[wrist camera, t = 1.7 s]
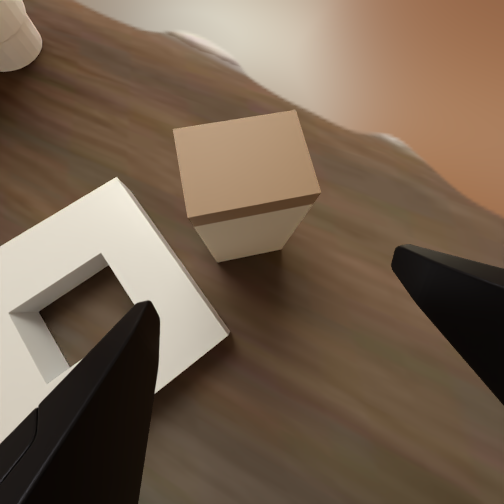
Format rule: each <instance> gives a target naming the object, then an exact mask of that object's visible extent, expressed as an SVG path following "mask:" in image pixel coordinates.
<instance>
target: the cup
mask: <svg viewBox="0 0 504 504" xmlns="http://www.w3.org/2000/svg"><path fill="white" fill-rule="evenodd" d="M41 49H42V38H41V35H40V34H39V32H38V31H37V29H36V28H35V26H34V24H33V23H32V21H31V20H30V18H29V17H28V15H27V14H26V9H25V6H24V3H23V1H22V0H0V72H7V71H14V70H17V69H21V68H23V67H25V66H27V65H29V64H30V63H31V62H32V61H34V60H35V59H36V57H37V56H38V55H39V54H40V51H41Z"/></svg>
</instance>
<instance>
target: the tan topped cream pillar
mask: <svg viewBox="0 0 504 504" xmlns="http://www.w3.org/2000/svg"><path fill="white" fill-rule="evenodd" d="M173 133H174V139H175V145H176V151H177V157H178V163H179V169H180V175H181V181H182V187H183V193H184V199H185V205H186V211H187V217H188V219H189V220H190V222H191V223H192V225H193V227H194V228H195V230H196V231H197V233H198V234H199V236H200V237H201V239H202V240H203V242H204V243H205V245H206V246H207V248H208V249H209V251H210V252H211V254H212V255H213V257H214V258H215V260H216V261H217V263H218V262H223V261H227V260H232V259H237V258H242V257H247V256H252V255H256V254H261V253H266V252H271V251H276V250H281V249H282V248H283V247H284V245H285V244H286V242H287V241H288V239H289V238H290V236H291V235H292V234H293V232H294V231H295V229H296V228H297V226H298V225H299V224H300V222H301V221H302V219H303V218H304V216H305V215H306V213H307V212H308V211H309V209H310V208H311V206H312V205H313V203H314V202H315V201H316V199H317V198H318V196H319V195H320V193H321V191H320V187H319V184H318V181H317V178H316V174H315V171H314V168H313V165H312V161H311V158H310V155H309V152H308V148H307V145H306V142H305V139H304V135H303V132H302V129H301V126H300V122H299V119H298V116H297V113H296V110H292V111H286V112H279V113H273V114H267V115H260V116H254V117H248V118H241V119H235V120H229V121H222V122H216V123H209V124H203V125H197V126H190V127H184V128H178V129H173Z"/></svg>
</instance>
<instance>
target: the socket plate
mask: <svg viewBox="0 0 504 504" xmlns="http://www.w3.org/2000/svg"><path fill="white" fill-rule="evenodd" d="M108 265H109V266H110V267H111V269H112V270H113V272H114V274H115V275H116V277H117V278H118V280H119V281H120V283H121V284H122V286H123V288H124V289H125V291H126V292H127V294H128V295H129V297H130V298H131V300H132V301H133V303H134V305H135V304H136V303H138V302H142V301H146V300H150V301H151V302H152V303H153V305H154V307H155V309H156V311H157V313H158V315H159V317H160V347H159V366H158V374H157V381H156V388H155V393H156V392H158V391H159V390H160V389H161V388H163V387H164V386H165V385H166V384H168V383H169V382H170V381H171V380H173V379H174V378H175V377H176V376H178V375H179V374H180V373H182V372H183V371H184V370H185V369H187V368H188V367H189V366H190V365H192V364H193V363H194V362H195V361H197V360H198V359H199V358H200V357H202V356H203V355H204V354H205V353H207V352H208V351H209V350H210V349H212V348H213V347H214V346H216V345H217V344H218V343H219V342H221V341H222V340H223V339H224V338H226V337H227V336H228V335H229V333H230V330H229V329H228V327H227V326H226V325H225V323H224V322H223V320H222V319H221V318H220V316H219V315H218V313H217V312H216V311H215V309H214V308H213V306H212V305H211V304H210V302H209V301H208V299H207V298H206V296H205V295H204V294H203V292H202V291H201V289H200V288H199V287H198V285H197V284H196V282H195V281H194V280H193V278H192V277H191V275H190V274H189V272H188V271H187V270H186V268H185V267H184V265H183V264H182V263H181V261H180V260H179V258H178V257H177V256H176V254H175V253H174V251H173V250H172V248H171V247H170V246H169V244H168V243H167V241H166V240H165V239H164V237H163V236H162V234H161V233H160V232H159V230H158V229H157V227H156V226H155V224H154V223H153V222H152V220H151V219H150V217H149V216H148V215H147V213H146V212H145V210H144V209H143V208H142V206H141V205H140V203H139V202H138V200H137V199H136V198H135V196H134V195H133V193H132V192H131V191H130V190H129V189H128V188H127V187H126V186H125V185H124V184H123V183H122V182H121V181H120V180H119V179H118V178H117V177H116V178H114V179H112V180H111V181H109V182H107V183H106V184H104V185H102V186H101V187H99V188H97V189H96V190H94V191H92V192H91V193H89V194H87V195H86V196H84V197H82V198H81V199H79V200H77V201H76V202H74V203H72V204H71V205H69V206H67V207H66V208H64V209H62V210H61V211H59V212H57V213H56V214H54V215H52V216H51V217H49V218H47V219H45V220H44V221H42V222H40V223H39V224H37V225H35V226H34V227H32V228H30V229H29V230H27V231H25V232H24V233H22V234H20V235H19V236H17V237H15V238H14V239H12V240H10V241H9V242H7V243H5V244H4V245H2V246H0V443H1V442H2V441H3V440H4V439H5V438H6V437H7V436H8V435H9V434H10V433H11V432H12V431H13V430H14V429H15V428H16V427H17V426H18V425H19V424H20V423H21V422H22V421H23V420H24V419H25V418H26V417H27V416H28V415H29V414H30V413H31V412H32V411H33V410H34V409H35V408H37V407H38V405H39V404H40V403H41V402H42V400H43V399H44V398H45V397H46V396H47V395H48V394H49V393H50V392H51V391H52V390H53V389H54V388H55V387H56V386H57V385H58V384H59V383H60V382H61V381H62V380H63V379H64V378H65V377H66V376H67V375H68V374H69V373H70V372H71V370H72V369H73V368H74V367H75V366H76V365H77V364H78V363H79V362H80V361H81V360H82V359H81V360H80V361H79V362H77V363H76V364H75V365H73V366H72V367H69V365H68V363H67V362H66V360H65V358H64V356H63V355H62V353H61V351H60V349H59V347H58V346H57V344H56V342H55V340H54V338H53V337H52V335H51V333H50V331H49V330H48V328H47V326H46V324H45V322H44V321H43V319H42V317H41V315H40V314H39V311H40V310H42V309H43V308H45V307H46V306H48V305H49V304H51V303H52V302H54V301H55V300H57V299H58V298H60V297H61V296H63V295H64V294H66V293H67V292H69V291H70V290H72V289H73V288H75V287H76V286H78V285H79V284H81V283H82V282H84V281H86V280H87V279H89V278H90V277H92V276H93V275H95V274H96V273H98V272H99V271H101V270H102V269H104V268H105V267H107V266H108Z"/></svg>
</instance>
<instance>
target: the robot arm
mask: <svg viewBox="0 0 504 504" xmlns="http://www.w3.org/2000/svg"><path fill="white" fill-rule="evenodd" d="M391 267H392V270H393V272H394V273H395V274H396V276H397V277H398V279H399V280H400V281H401V283H402V284H403V286H404V287H405V289H406V290H407V291H408V293H409V294H410V296H411V297H412V298H413V300H414V301H415V303H416V304H417V305H418V306H419V307H420V309H421V310H422V311H423V312H424V313H425V315H426V316H427V317H428V318H429V319H430V320H431V322H432V323H433V324H434V325H435V326H436V327H437V328H438V330H439V331H440V332H441V333H442V334H443V335H444V337H445V338H446V339H447V340H448V341H449V342H450V344H451V345H452V346H453V347H454V348H455V349H456V351H457V352H458V353H459V354H460V355H461V356H462V358H463V359H464V360H465V361H466V362H467V363H468V365H469V366H470V367H471V368H472V369H473V370H474V371H475V373H476V374H477V375H478V376H479V377H480V378H481V380H482V381H483V382H484V383H485V384H486V385H487V387H488V388H489V389H490V390H491V391H492V392H493V394H494V395H495V396H496V397H497V398H498V399H499V401H500V402H501V403H502V404H503V405H504V269H503V268H499V267H495V266H491V265H488V264H484V263H480V262H476V261H472V260H468V259H464V258H461V257H457V256H453V255H449V254H445V253H441V252H438V251H434V250H430V249H426V248H422V247H418V246H414V245H411V244H406V245H401V246H398V247H396V249H395V251H394V255H393V259H392V263H391ZM159 347H160V317H159V315H158V313H157V311H156V309H155V307H154V305H153V303H152V302H151V301H150V300H146V301H142V302H138V303H136V304H135V305H134V306H133V307H132V308H131V309H130V310H129V311H128V312H127V314H126V315H125V316H124V317H123V318H122V319H121V320H120V321H119V322H118V323H117V324H116V325H115V326H114V327H113V328H112V329H111V330H110V331H109V332H108V333H107V334H106V335H105V336H104V337H103V338H102V339H101V340H100V341H99V343H98V344H97V345H96V346H95V347H94V348H93V349H92V350H91V351H90V352H89V353H88V354H87V355H86V356H85V357H84V358H83V359H82V360H81V361H80V362H79V363H78V364H77V365H76V366H75V367H74V368H73V369H72V370H71V372H70V373H69V374H68V375H67V376H66V377H65V378H64V379H63V380H62V381H61V382H60V383H59V384H58V385H57V386H56V387H55V388H54V389H53V390H52V391H51V392H50V393H49V394H48V395H47V396H46V397H45V398H44V399H43V400H42V402H41V403H40V404H39V405H38V407H37V408H35V409H34V410H33V411H32V412H31V413H30V414H29V415H28V416H27V417H26V418H25V419H24V420H23V421H22V422H21V423H20V424H19V425H18V426H17V427H16V428H15V429H14V430H13V431H12V432H11V433H10V434H9V435H8V436H7V437H6V438H5V439H4V440H3V441H2V442H1V443H0V504H138V501H139V494H140V487H141V481H142V474H143V467H144V461H145V454H146V447H147V441H148V434H149V427H150V421H151V414H152V407H153V401H154V394H155V388H156V381H157V374H158V366H159Z"/></svg>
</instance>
